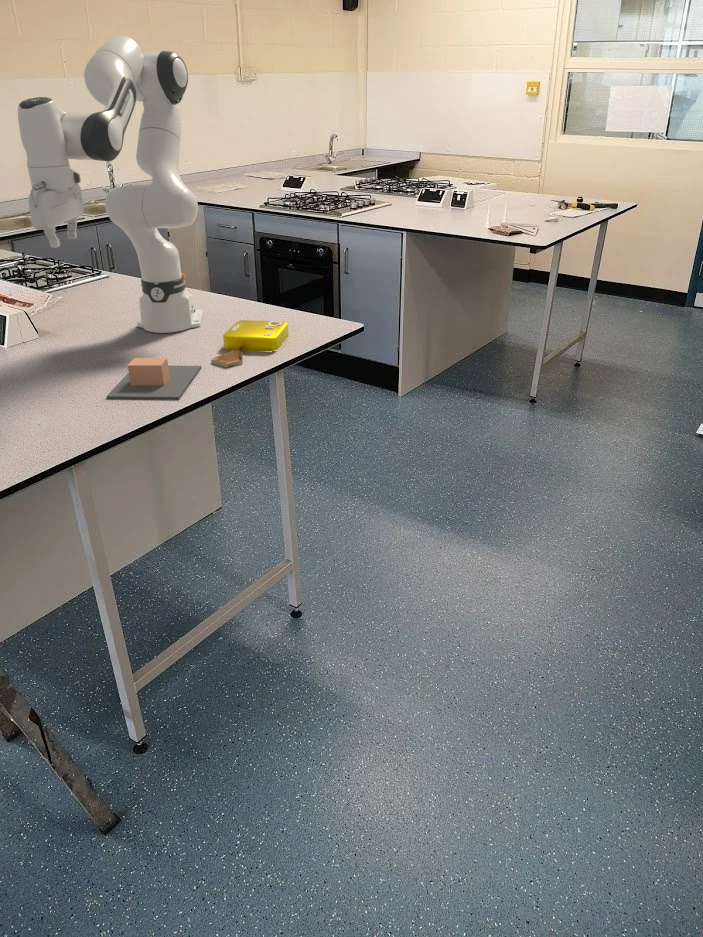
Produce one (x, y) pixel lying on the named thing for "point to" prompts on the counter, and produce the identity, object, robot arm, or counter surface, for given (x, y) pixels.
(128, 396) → the charcoal mat
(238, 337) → the element tile
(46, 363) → the counter surface
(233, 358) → the shard
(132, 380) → the terracotta block
